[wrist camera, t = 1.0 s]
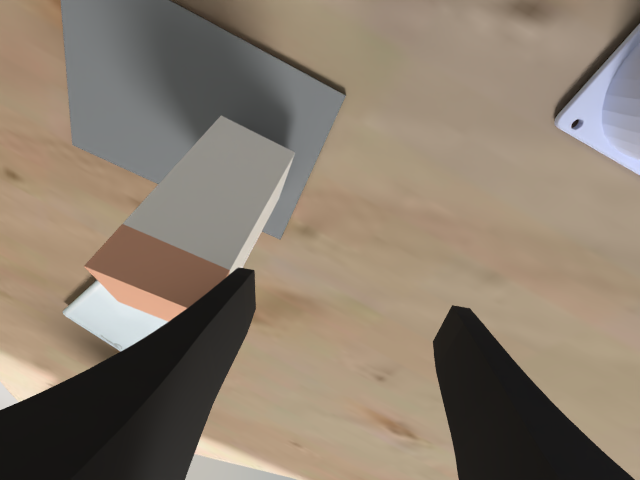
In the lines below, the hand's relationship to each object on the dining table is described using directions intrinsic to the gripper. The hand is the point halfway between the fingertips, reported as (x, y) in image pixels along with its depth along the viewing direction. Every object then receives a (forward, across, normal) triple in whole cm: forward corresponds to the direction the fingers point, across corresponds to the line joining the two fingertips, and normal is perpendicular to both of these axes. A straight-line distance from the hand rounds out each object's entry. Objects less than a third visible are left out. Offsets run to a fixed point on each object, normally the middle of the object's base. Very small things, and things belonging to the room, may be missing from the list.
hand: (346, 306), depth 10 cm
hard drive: (+11, +22, +17) cm, 30 cm away
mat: (+10, +11, -3) cm, 15 cm away
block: (+9, +7, -2) cm, 12 cm away
